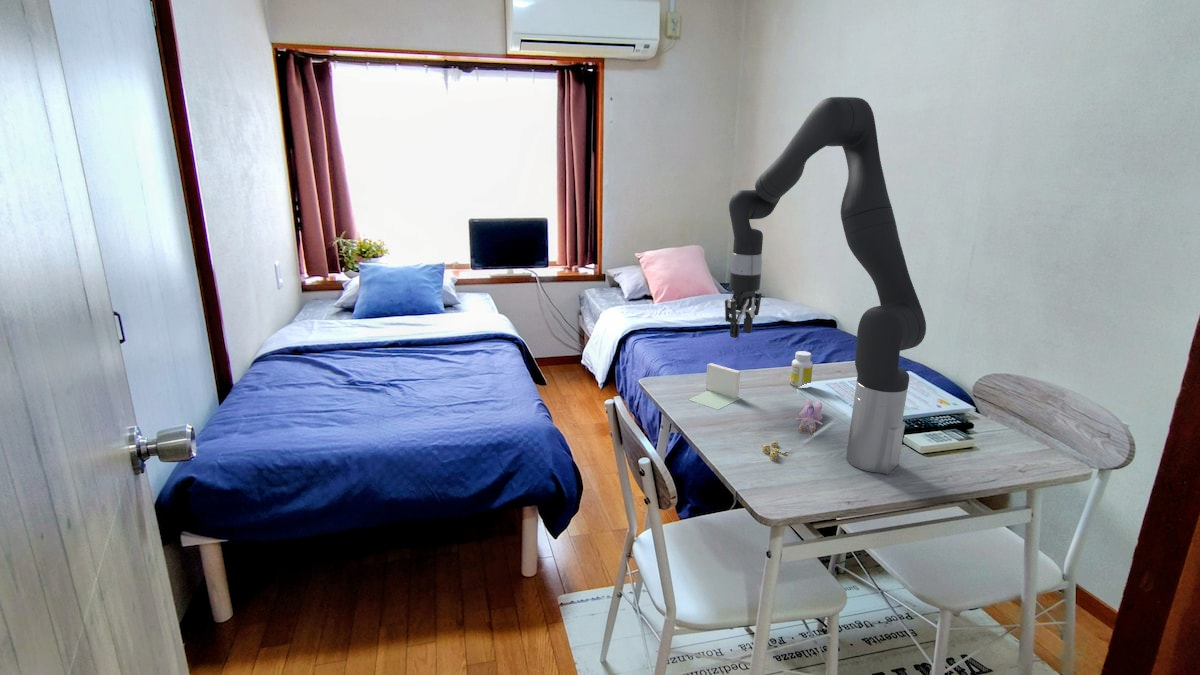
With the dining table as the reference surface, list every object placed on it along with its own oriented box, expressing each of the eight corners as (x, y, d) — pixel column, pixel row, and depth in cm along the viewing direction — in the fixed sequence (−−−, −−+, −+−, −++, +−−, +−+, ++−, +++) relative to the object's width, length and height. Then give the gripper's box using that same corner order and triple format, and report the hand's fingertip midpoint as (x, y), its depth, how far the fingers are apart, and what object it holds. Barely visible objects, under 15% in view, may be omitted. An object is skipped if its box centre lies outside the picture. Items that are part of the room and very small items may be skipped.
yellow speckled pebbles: (772, 463, 124) (773, 455, 123) (756, 453, 128) (757, 445, 128) (791, 458, 126) (792, 450, 125) (774, 448, 130) (775, 440, 130)
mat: (777, 402, 153) (777, 400, 153) (744, 421, 142) (744, 418, 142) (718, 384, 165) (718, 382, 165) (682, 400, 154) (683, 398, 154)
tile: (740, 371, 153) (710, 362, 159) (736, 372, 152) (707, 364, 158) (738, 396, 155) (709, 387, 161) (734, 398, 154) (705, 389, 160)
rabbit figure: (819, 443, 134) (827, 409, 146) (822, 421, 132) (829, 388, 144) (790, 438, 137) (800, 405, 149) (792, 416, 134) (802, 384, 146)
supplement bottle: (811, 385, 165) (815, 351, 162) (809, 392, 160) (813, 357, 157) (790, 382, 167) (794, 349, 164) (788, 389, 162) (791, 354, 159)
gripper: (743, 277, 144) (738, 343, 149) (773, 269, 154) (767, 332, 159) (717, 272, 149) (713, 337, 154) (747, 265, 159) (743, 326, 164)
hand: (740, 334), depth 156 cm, fingers open, 5 cm apart
